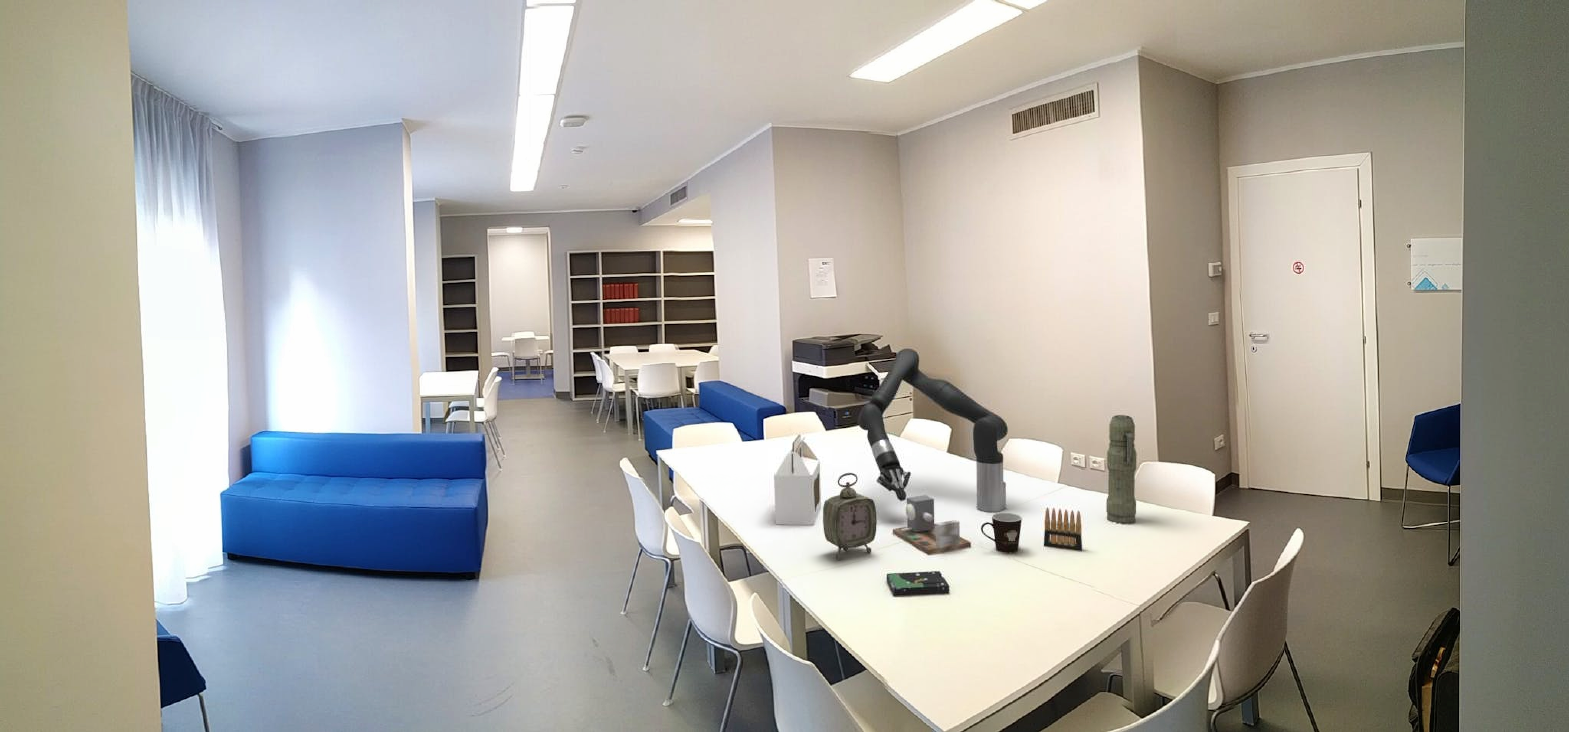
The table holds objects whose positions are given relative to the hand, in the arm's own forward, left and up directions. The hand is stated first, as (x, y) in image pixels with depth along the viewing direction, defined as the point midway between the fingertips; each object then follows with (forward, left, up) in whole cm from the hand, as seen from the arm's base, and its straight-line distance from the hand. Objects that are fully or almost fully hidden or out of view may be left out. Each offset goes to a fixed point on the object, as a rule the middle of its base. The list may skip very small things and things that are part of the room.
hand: (903, 499), depth 243 cm
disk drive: (+23, +46, -10) cm, 53 cm away
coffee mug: (-15, +33, -9) cm, 37 cm away
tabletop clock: (+28, +16, -9) cm, 34 cm away
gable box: (+27, -26, -9) cm, 39 cm away
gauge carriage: (+2, +12, -7) cm, 14 cm away
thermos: (-67, +28, -9) cm, 73 cm away
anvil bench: (0, +17, -9) cm, 19 cm away
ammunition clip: (-32, +40, -9) cm, 52 cm away
